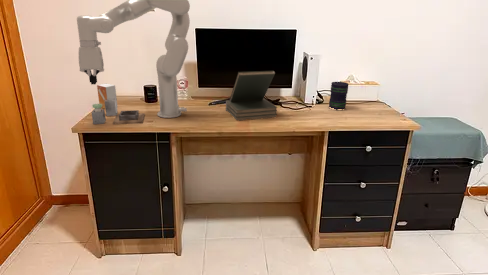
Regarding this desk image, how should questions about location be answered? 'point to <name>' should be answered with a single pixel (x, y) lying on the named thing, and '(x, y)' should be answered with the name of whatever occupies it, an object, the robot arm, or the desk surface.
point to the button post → (98, 117)
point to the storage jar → (338, 95)
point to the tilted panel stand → (251, 96)
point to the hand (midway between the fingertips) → (93, 83)
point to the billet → (111, 107)
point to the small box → (106, 93)
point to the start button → (97, 107)
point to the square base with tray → (129, 117)
